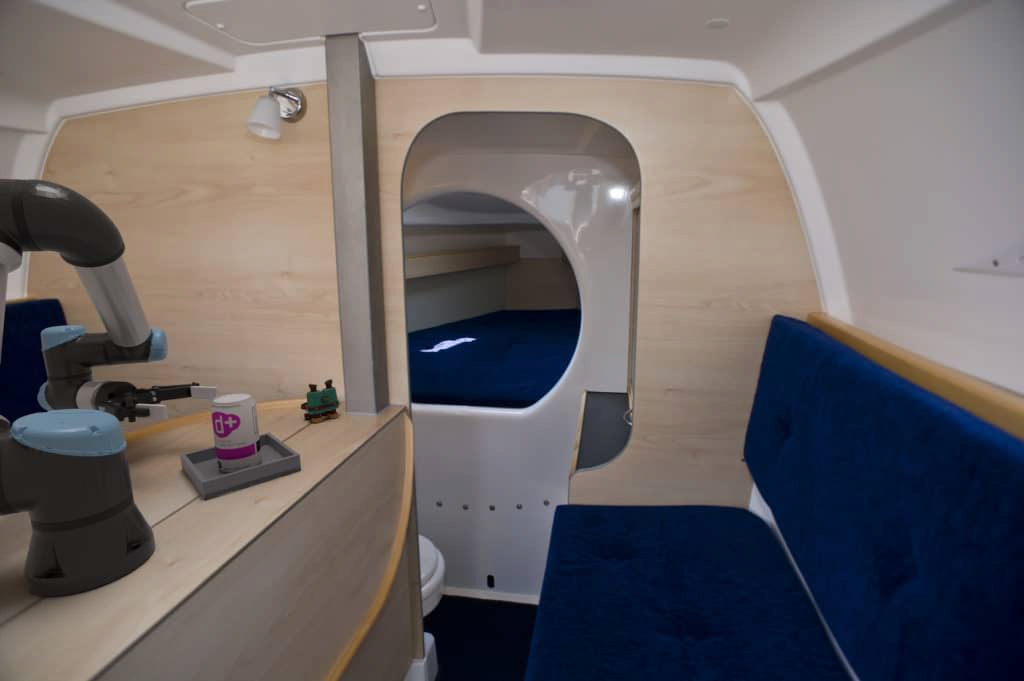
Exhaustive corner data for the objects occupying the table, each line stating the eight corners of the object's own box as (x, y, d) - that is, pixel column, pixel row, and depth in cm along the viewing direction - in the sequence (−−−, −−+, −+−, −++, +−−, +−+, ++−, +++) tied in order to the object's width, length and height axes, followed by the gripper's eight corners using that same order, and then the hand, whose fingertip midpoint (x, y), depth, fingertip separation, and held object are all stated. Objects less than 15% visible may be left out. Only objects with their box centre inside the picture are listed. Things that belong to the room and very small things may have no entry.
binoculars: (322, 376, 146) (340, 379, 139) (327, 412, 147) (344, 416, 140) (291, 382, 139) (308, 385, 133) (296, 420, 141) (313, 425, 134)
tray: (204, 500, 96) (202, 482, 95) (182, 470, 108) (180, 454, 108) (301, 470, 108) (299, 454, 107) (270, 446, 121) (269, 432, 120)
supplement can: (244, 475, 103) (236, 404, 100) (208, 472, 105) (199, 402, 102) (270, 459, 111) (263, 392, 108) (237, 456, 113) (229, 391, 110)
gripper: (161, 398, 124) (237, 402, 120) (51, 434, 100) (142, 440, 96) (156, 368, 123) (233, 371, 119) (45, 397, 99) (136, 402, 95)
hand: (193, 402), depth 107 cm, fingers open, 13 cm apart
